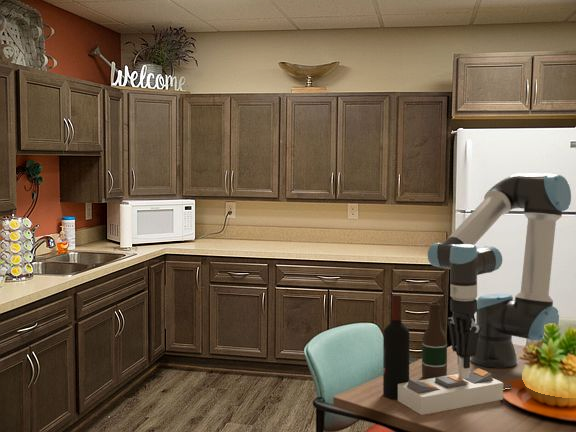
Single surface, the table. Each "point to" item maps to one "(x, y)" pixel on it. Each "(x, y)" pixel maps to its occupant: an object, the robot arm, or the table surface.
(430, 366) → the beer bottle
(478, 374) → the rocker
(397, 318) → the wine bottle
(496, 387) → the power strip
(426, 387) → the rocker
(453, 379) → the rocker
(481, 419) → the table surface
